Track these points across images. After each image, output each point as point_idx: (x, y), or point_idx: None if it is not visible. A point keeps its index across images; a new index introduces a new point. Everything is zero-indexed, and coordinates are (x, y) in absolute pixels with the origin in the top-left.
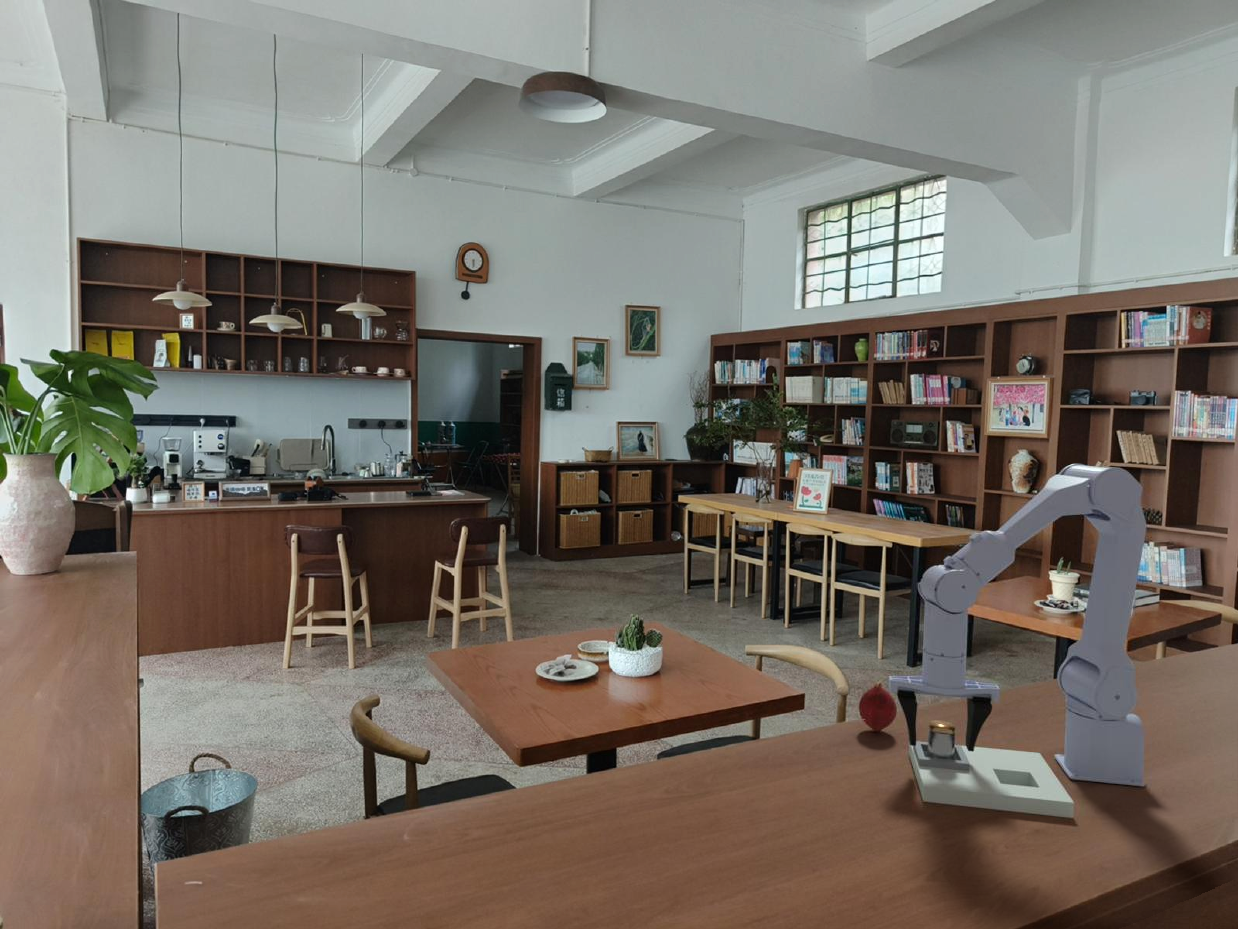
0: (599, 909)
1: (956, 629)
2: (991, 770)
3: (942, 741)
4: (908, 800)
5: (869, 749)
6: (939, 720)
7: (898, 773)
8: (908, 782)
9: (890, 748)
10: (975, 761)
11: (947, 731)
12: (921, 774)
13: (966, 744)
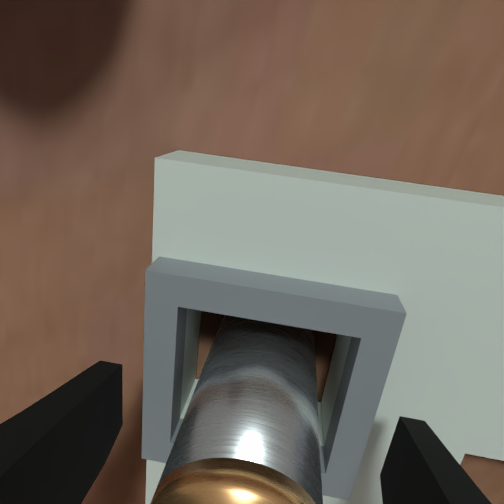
0: None
1: None
2: None
3: None
4: (122, 500)
5: (4, 118)
6: (234, 495)
7: (111, 345)
8: (136, 406)
9: (99, 89)
10: (421, 391)
11: None
12: (149, 492)
13: (398, 441)
